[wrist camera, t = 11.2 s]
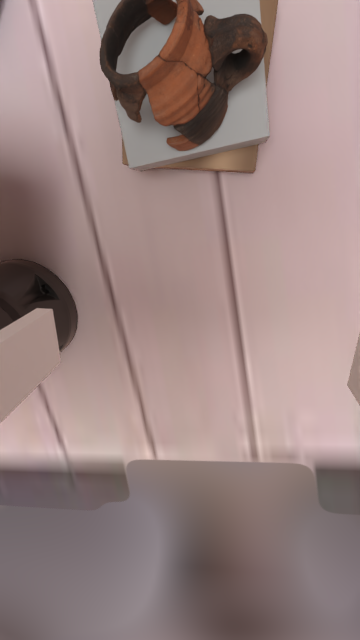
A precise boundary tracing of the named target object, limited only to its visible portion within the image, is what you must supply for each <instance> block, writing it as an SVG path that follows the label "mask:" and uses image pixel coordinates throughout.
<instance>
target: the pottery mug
mask: <svg viewBox="0 0 360 640" xmlns="http://www.w3.org/2000/svg"><path fill="white" fill-rule="evenodd" d="M176 2H177V4H176V3H175V2H173V1H172V0H121V2H120V3H119V4H118V5H117V7H116V8H115V10H114V12H113V13H112V15H111V17H110V19H109V21H108V24H107V26H106V30H105V32H104V34H103V38H102V40H101V48H100V65H101V69H102V71H103V73H104V74H105V76H106V77H107V78H108V80H109V81H110V87H111V91H112V94H113V97H114V100H115V101H117V100H118V99H119V102H120V104H121V106H122V107H123V108H124V109H125V111H126V113H127V116H128V117H129V118H130V119H131V120H133V121H135V122H137V123H140V122H141V120H142V118H141V115H140V112H139V111H140V110H141V105H142V102H143V100H144V98H145V96H146V94H147V95H148V99H149V103H150V105H151V109H152V112H153V115H154V119H155V121H156V122H158V123H159V124H161V125H163V126H171V125H173V127H174V129H176V130H177V131H178V132H180V133H181V134H182V135H179V136H175V137H169V138H167V141H166V142H167V144H168V145H169V146H170V147H173V148H175V149H176V150H178V151H186V150H190V149H193V148H195V147H197V146H199V145H201V144H203V143H204V142H205V141H207V140H208V139H209V138H211V137H212V135H213V134H214V133H215V132H216V131H217V130H218V128H219V127H220V125H221V124H222V122H223V119H224V117H225V114H226V112H227V108H228V94H229V91H231V90H232V89H233V87H234V86H235V85H236V84H238V83H239V82H241V81H242V80H244V79H245V78H247V77H249V76H250V75H251V74H252V73H253V72H255V70H256V69H257V68H258V66H259V65H260V63H261V61H262V59H263V57H264V54H265V52H266V46H267V43H268V38H267V34H266V33H265V32H264V30H263V29H262V26H261V24H260V22H259V21H258V20H257V19H256V18H255V17H253V16H251V15H249V14H236V15H233V16H231V17H227V18H222V19H218V18H216V17H215V16H212V15H209V16H207V17H206V19H205V21H204V24H203V22H202V20H201V18H199V16H200V15H202V14H203V12H204V9H203V7H202V6H201V5H200V3H199V2H198V1H197V0H176ZM151 17H153V18H155V19H156V20H157V21H159V22H160V23H162V24H164V25H166V24H169V23H170V22H171V21H172V20H173V19H174V18H175V17H176V19H175V23H174V26H173V29H172V32H171V34H170V36H169V38H168V40H167V42H166V44H165V45H164V46H163V48H162V49H161V51H160V52H159V55H158V56H156V57H155V58H154V59H153V60H152V61H151V62H150V63H148V64H147V65H146V66H145V67H143V68H142V69H140V70H139V71H138V72H134V73H130V74H120V73H118V72H116V68H117V61H118V56H120V54H121V53H122V51H123V48H124V46H125V44H126V41H127V39H128V38H129V36H130V34H131V33H132V32H133V31H134V30H135V29H136V28H137V27H139V26H140V25H141V24H143V23H144V22H145V21H147V20H149V19H150V18H151ZM238 49H242V50H241V51H240V52H239V53H232V52H233V51H236V50H238ZM212 67H213V69H214V83H212V82H210V81H209V80H208V79H206V77H207V75H208V74H209V73H210V72H211V70H212Z"/></svg>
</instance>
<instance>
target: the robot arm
mask: <svg viewBox="0 0 360 640" xmlns="http://www.w3.org/2000/svg"><path fill="white" fill-rule="evenodd" d="M76 327H77V312H76V308H75V304H74V301H73V299H72V297H71V295H70V293H69V291H68V290H67V288H66V287H65V285H64V284H63V283H62V282H61V280H60V279H59V278H58V277H57V276H56V275H54V274H53V273H52V272H51V271H49V270H48V269H46V268H45V267H43V266H41V265H39V264H36V263H34V262H31V261H26V260H8V261H4V262H1V263H0V423H1V422H2V421H3V420H4V419H5V418H6V417H7V416H8V415H9V414H10V413H11V412H12V411H13V410H14V409H15V408H16V407H17V406H18V405H19V404H20V403H21V402H22V401H23V400H24V399H25V398H26V397H27V396H28V395H29V394H30V393H31V392H32V391H33V390H34V389H35V388H36V387H37V386H38V385H39V384H40V383H41V382H42V381H43V380H44V379H45V378H46V377H47V376H48V375H49V374H50V373H51V372H52V371H53V370H54V369H55V368H56V367H57V366H58V365H59V364H60V363H61V357H60V352H61V351H62V350H63V349H64V348H65V347H67V346H68V344H69V343H70V342H71V340H72V339H73V337H74V334H75V332H76ZM347 385H348V387H349V389H350V390H351V392H352V394H353V395H354V397H355V398H356V400H357V402H358V403H359V405H360V334H359V338H358V343H357V347H356V351H355V355H354V359H353V363H352V367H351V372H350V376H349V380H348V384H347Z"/></svg>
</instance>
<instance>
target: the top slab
mask: <svg viewBox="0 0 360 640" xmlns="http://www.w3.org/2000/svg"><path fill="white" fill-rule="evenodd" d="M172 1H173V2H175V3H176V4H177V2H176V0H172ZM197 1H198V2H199V3H200V5H201V6H202V7H203V9H204V12H203V14H202V15H200V16H199V18H201V20H202V22H203V24H204V21H205V19H206V17H207V16H209V15H212V16H215V17H216V18H218V19H222V18H227V17H231V16H233V15H236V14H249V15H251V16H253V17H255V18H256V19H257V20H258V21H259V22H260V24H261V14H260V1H259V0H197ZM120 2H121V0H93V5H94V9H95V14H96V18H97V23H98V28H99V32H100V37H101V40H102V38H103V34H104V32H105V30H106V26H107V24H108V21H109V19H110V17H111V15H112V13H113V12H114V10H115V8H116V7H117V5H118V4H119V3H120ZM175 19H176V17H175V18H174V19H173V20H172V21H171V22H170V23H169V24H166V25H164V24H162V23H160V22H159V21H157V20H156V19H155V18H153V17H151V18H150V19H149V20H147V21H145V22H144V23H143V24H141V25H140V26H139V27H137V28H136V29H135V30H134V31H133V32H132V33H131V34H130V36H129V38H128V39H127V41H126V44H125V46H124V48H123V51H122V53H121V54H120V56H118V61H117V68H116V72H118V73H120V74H130V73H134V72H138V71H139V70H140V69H142V68H143V67H145V66H146V65H147V64H148V63H150V62H151V61H152V60H153V59H154V58H155V57H156V56H158V55H159V52H160V51H161V49H162V48H163V46H164V45H165V44H166V42H167V40H168V38H169V36H170V34H171V32H172V29H173V26H174V23H175ZM241 50H242V49H238V50H236V51H233V52H232V53H239V52H240V51H241ZM206 79H208V80H209V81H210V82H212V83H214V69H213V67H212V70H211V72H210V73H209V74H208V75H207V77H206ZM115 105H116V109H117V114H118V119H119V123H120V128H121V132H122V137H123V141H124V146H125V150H126V155H127V159H128V164H129V168H130V169H135V170H139V171H143V170H147V169H152V168H156V167H160V166H165V165H169V164H173V163H178V162H182V161H187V160H191V159H195V158H200V157H204V156H209V155H213V154H217V153H222V152H226V151H230V150H235V149H239V148H244V147H248V146H252V145H257V144H261V143H265V142H266V141H267V139H268V137H269V136H270V134H269V121H268V108H267V94H266V81H265V68H264V57H263V59H262V61H261V63H260V65H259V66H258V68H257V69H256V70H255V72H253V73H252V74H251V75H250V76H249V77H247V78H245V79H244V80H242V81H241V82H239V83H238V84H236V85H235V86H234V87H233V89H232V90H231V91H229V94H228V108H227V112H226V114H225V117H224V119H223V122H222V124H221V125H220V127H219V128H218V130H217V131H216V132H215V133H214V134H213V135H212V137H211V138H209V139H208V140H207V141H205V142H204V143H203V144H201V145H199V146H197V147H195V148H193V149H190V150H186V151H178V150H176V149H175V148H173V147H170V146H169V145H168V144H167V142H166V141H167V138H169V137H175V136H179V135H182V134H181V133H180V132H178V131H177V130H176V129H174V127H173V125H171V126H163V125H161V124H159V123H158V122H156V121H155V119H154V115H153V112H152V109H151V105H150V103H149V99H148V95H147V94H146V96H145V98H144V100H143V102H142V105H141V110H140V111H139V112H140V115H141V118H142V120H141V122H140V123H137V122H135V121H133V120H131V119H130V118H129V117H128V116H127V113H126V111H125V109H124V108H123V107H122V106H121V104H120V102H119V99H118V100H117V101H115Z"/></svg>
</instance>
